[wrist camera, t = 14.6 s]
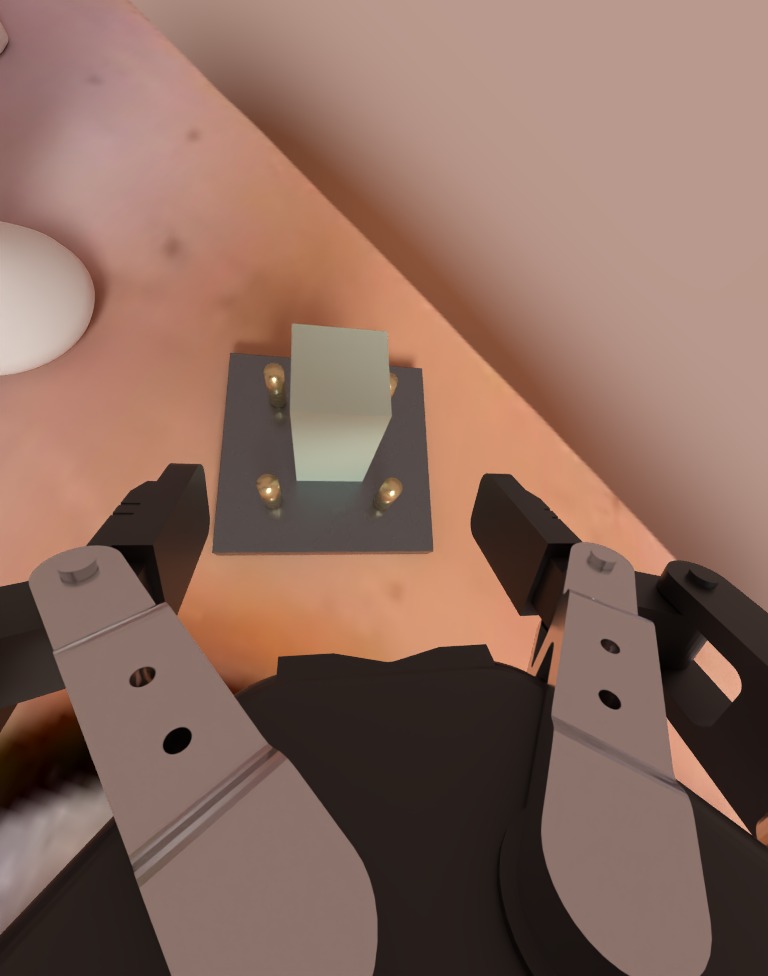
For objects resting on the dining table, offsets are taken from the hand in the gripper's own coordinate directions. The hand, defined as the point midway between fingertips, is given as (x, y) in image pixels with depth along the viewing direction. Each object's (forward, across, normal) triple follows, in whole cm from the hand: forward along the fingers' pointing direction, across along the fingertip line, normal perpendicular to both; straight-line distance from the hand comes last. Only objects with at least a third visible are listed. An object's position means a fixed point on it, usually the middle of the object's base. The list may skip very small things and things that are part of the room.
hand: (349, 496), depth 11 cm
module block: (+15, 0, +5) cm, 16 cm away
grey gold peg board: (+16, 0, +6) cm, 17 cm away
